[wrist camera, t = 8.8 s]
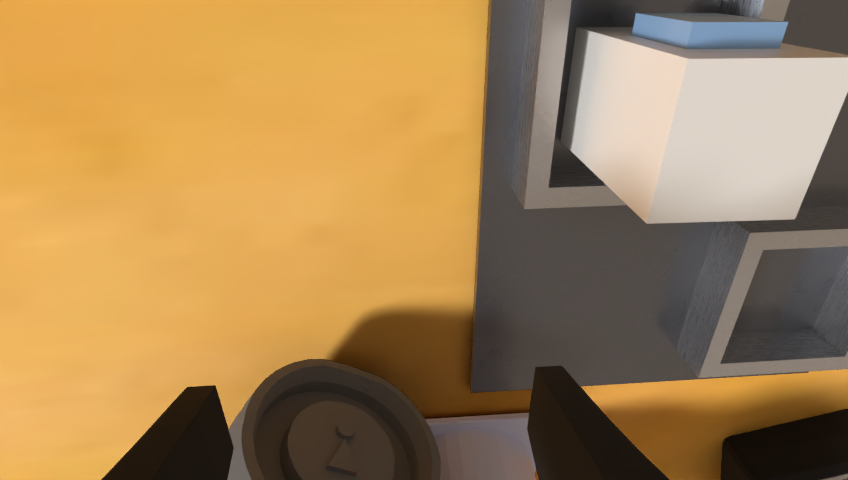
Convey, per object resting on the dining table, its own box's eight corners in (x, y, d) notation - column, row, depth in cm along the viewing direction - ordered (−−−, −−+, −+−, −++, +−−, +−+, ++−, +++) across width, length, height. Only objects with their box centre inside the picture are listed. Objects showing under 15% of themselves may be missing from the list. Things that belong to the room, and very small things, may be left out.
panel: (801, 365, 26) (839, 401, 24) (469, 385, 25) (477, 424, 23) (1017, -76, 16) (1113, -84, 14) (492, -74, 15) (510, -81, 13)
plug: (661, 139, 19) (794, 219, 13) (560, 140, 19) (646, 223, 12) (694, 7, 17) (874, 27, 10) (579, 7, 16) (695, 28, 10)
